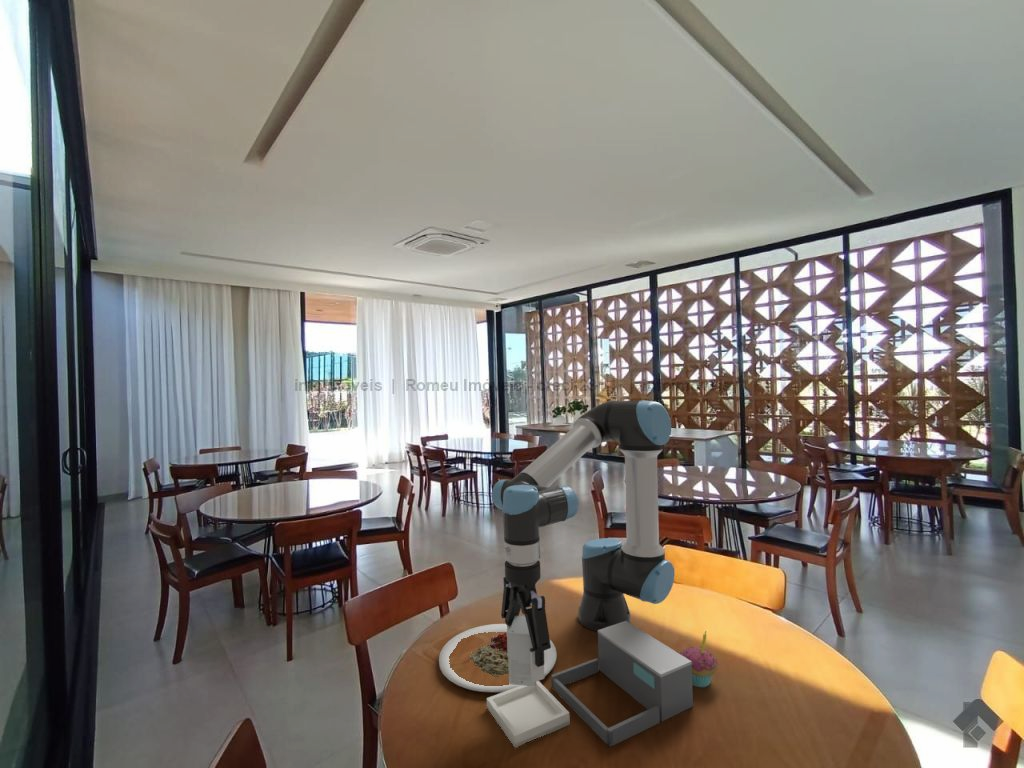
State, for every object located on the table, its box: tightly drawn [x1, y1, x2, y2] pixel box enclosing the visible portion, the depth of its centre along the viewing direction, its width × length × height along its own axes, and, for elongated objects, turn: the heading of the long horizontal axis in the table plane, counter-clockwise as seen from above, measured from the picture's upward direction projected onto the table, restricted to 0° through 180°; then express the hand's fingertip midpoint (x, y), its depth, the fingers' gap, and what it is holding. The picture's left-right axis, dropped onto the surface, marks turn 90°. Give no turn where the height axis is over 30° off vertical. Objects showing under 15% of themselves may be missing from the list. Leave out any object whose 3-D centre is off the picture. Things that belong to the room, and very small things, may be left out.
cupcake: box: [678, 630, 718, 688], centre depth 109 cm, size 9×8×12 cm
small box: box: [508, 615, 536, 686], centre depth 99 cm, size 8×6×10 cm
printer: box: [550, 621, 694, 748], centre depth 105 cm, size 21×23×10 cm
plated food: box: [438, 623, 558, 693], centre depth 121 cm, size 30×30×3 cm
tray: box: [486, 680, 571, 748], centre depth 99 cm, size 13×13×2 cm
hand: (525, 666), depth 99 cm, fingers closed on small box, 9 cm apart
